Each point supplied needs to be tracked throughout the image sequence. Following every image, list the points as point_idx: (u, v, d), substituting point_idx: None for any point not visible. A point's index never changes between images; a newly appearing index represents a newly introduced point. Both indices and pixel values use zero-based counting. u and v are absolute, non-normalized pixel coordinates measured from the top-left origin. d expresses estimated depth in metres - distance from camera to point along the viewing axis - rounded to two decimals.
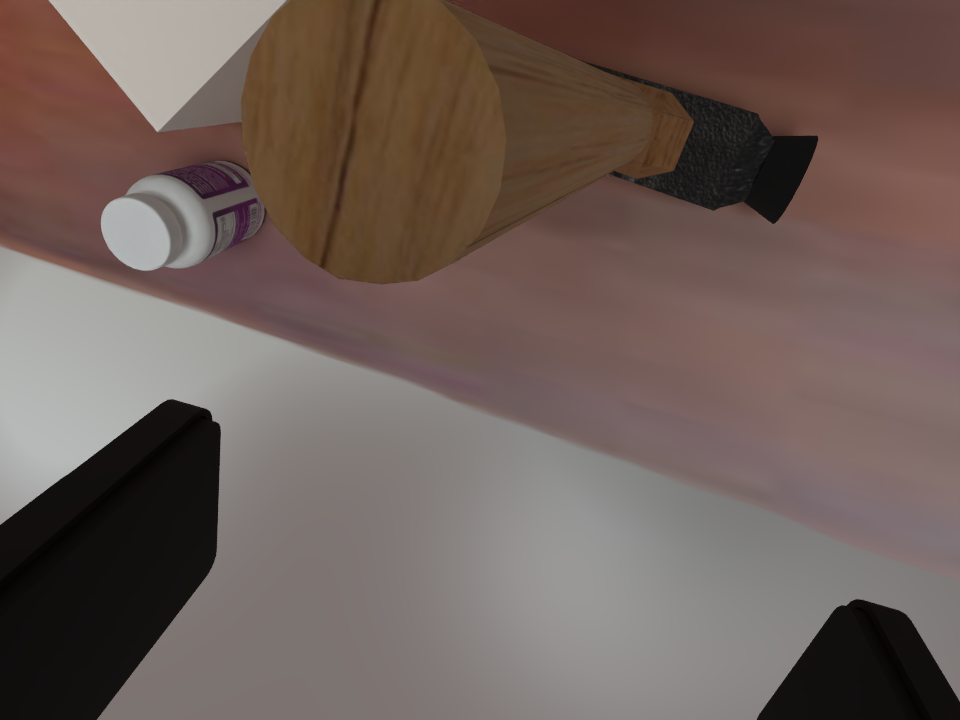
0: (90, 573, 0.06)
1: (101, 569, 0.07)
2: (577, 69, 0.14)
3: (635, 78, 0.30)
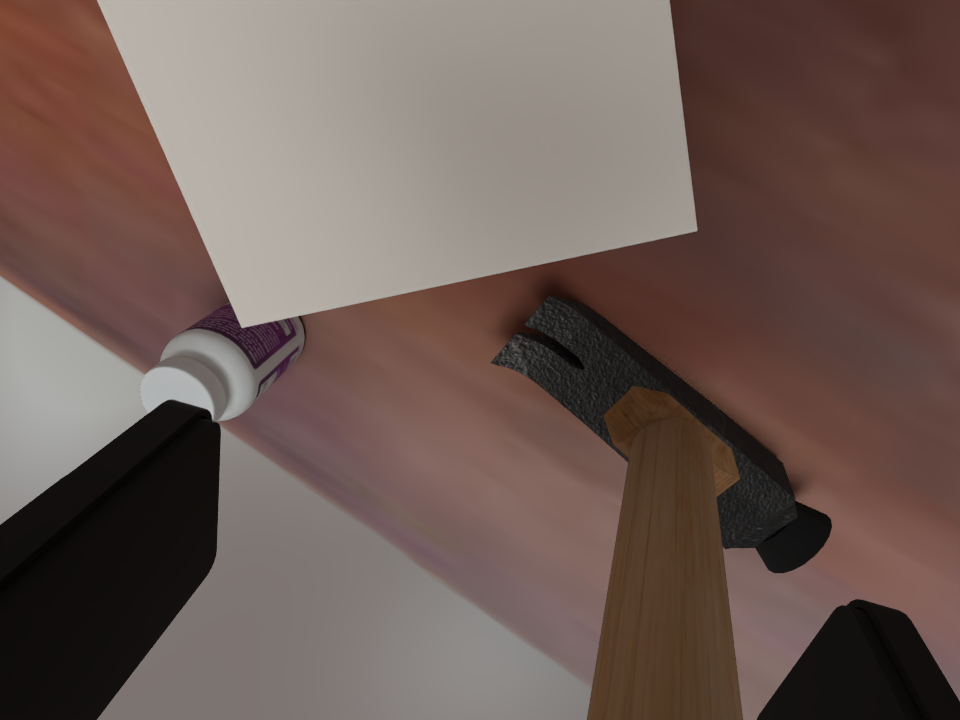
0: (90, 573, 0.06)
1: (101, 569, 0.07)
2: None
3: (705, 423, 0.32)
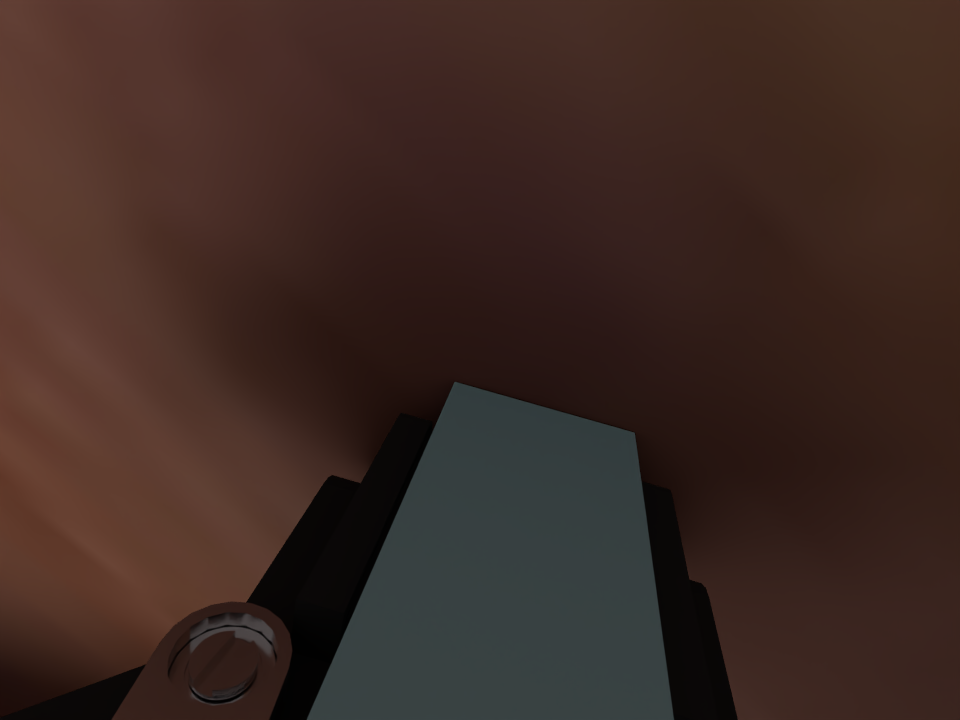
0: None
1: None
2: None
3: None
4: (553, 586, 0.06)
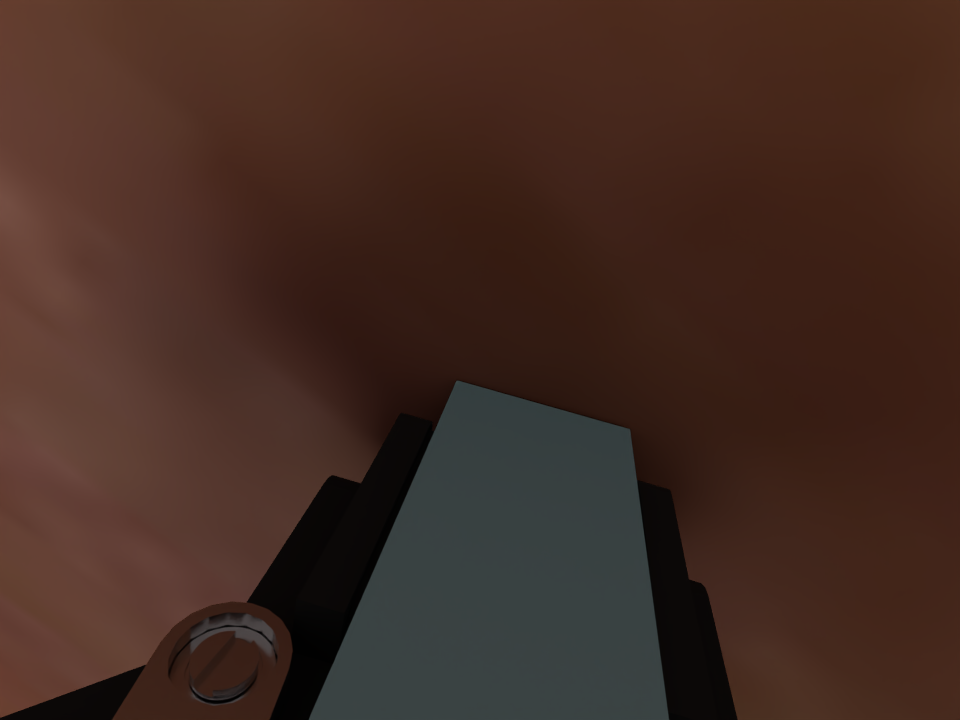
0: None
1: None
2: None
3: None
4: (552, 570, 0.07)
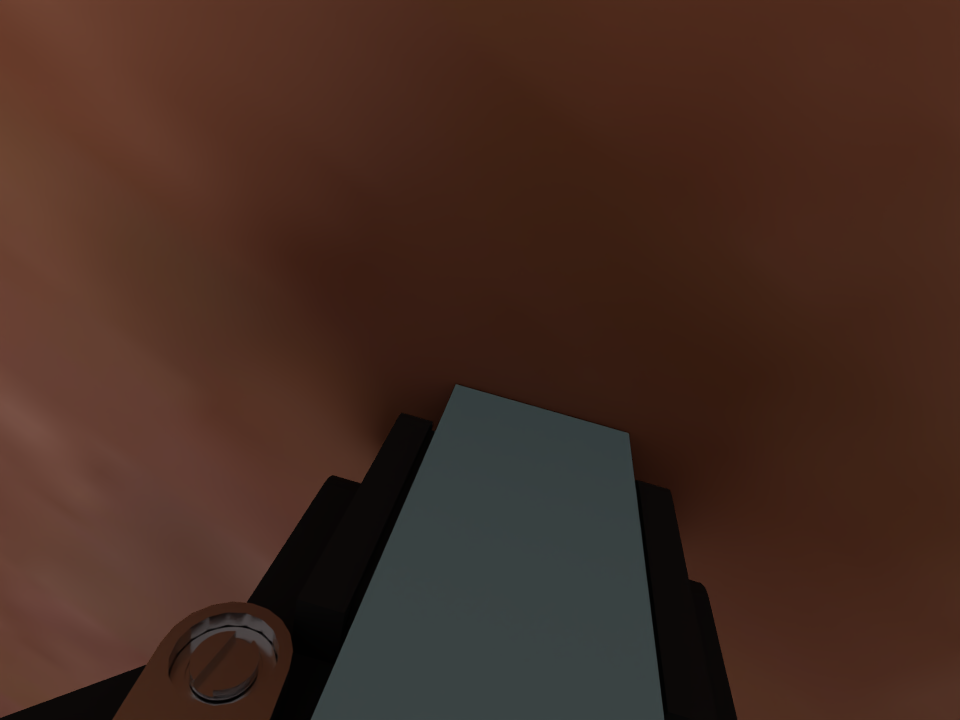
0: None
1: None
2: None
3: None
4: (550, 576, 0.07)
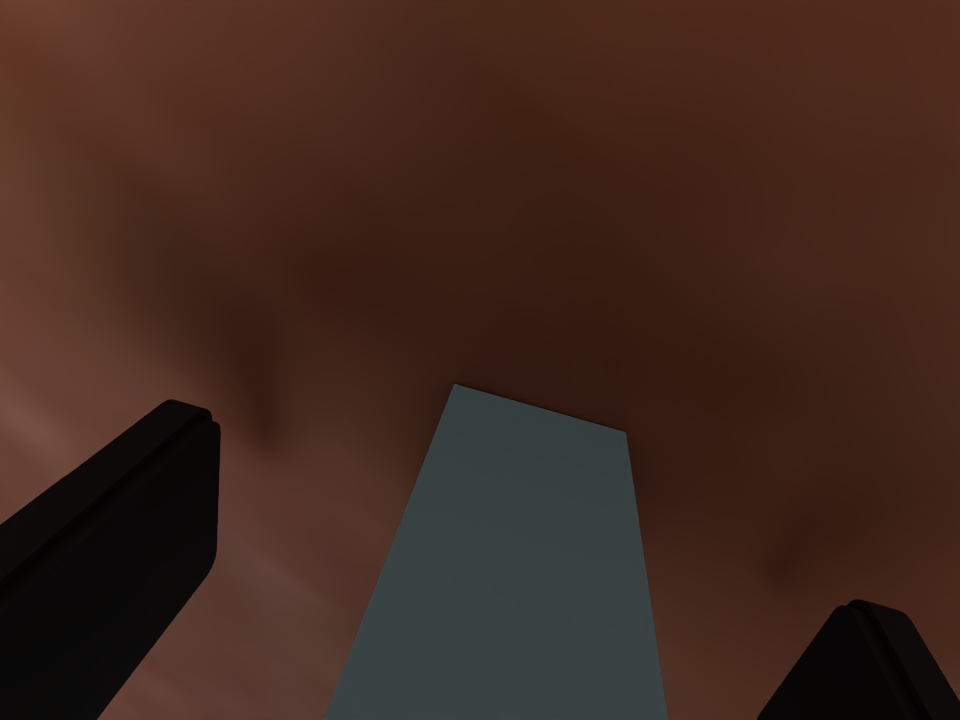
0: (90, 573, 0.06)
1: (101, 569, 0.07)
2: None
3: None
4: (553, 578, 0.07)
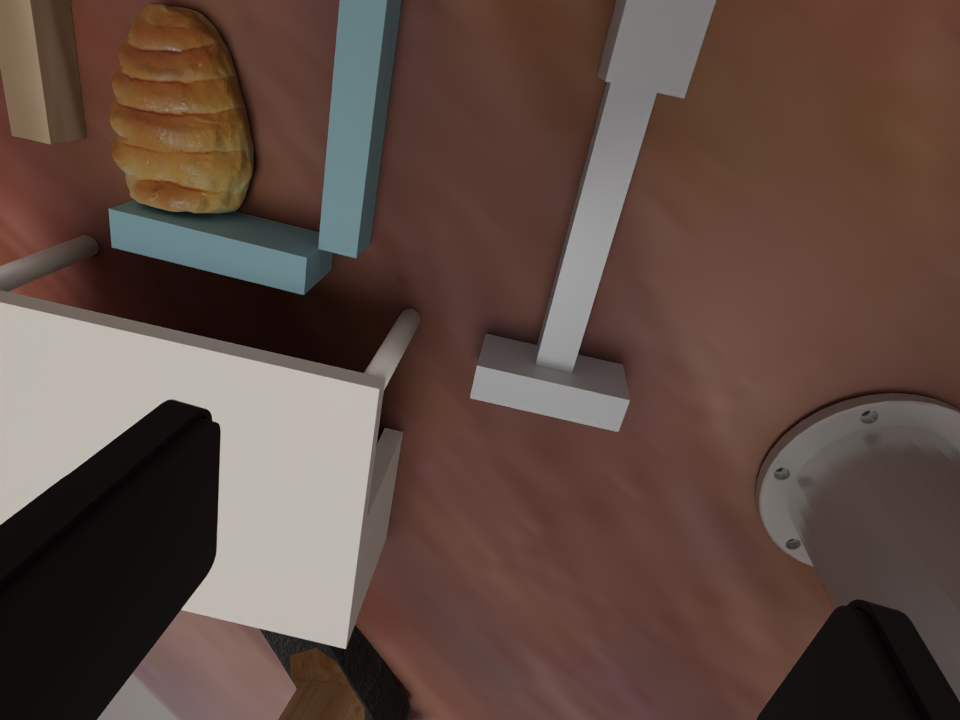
0: (90, 573, 0.06)
1: (101, 569, 0.07)
2: None
3: (354, 688, 0.44)
4: None
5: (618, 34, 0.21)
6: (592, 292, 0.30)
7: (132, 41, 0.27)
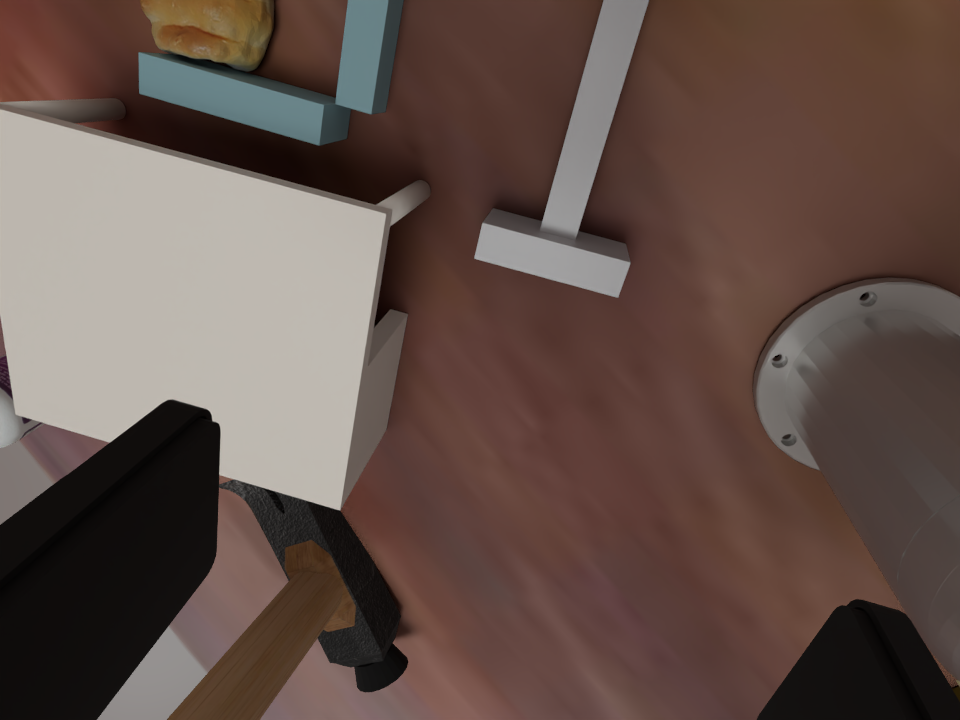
0: (90, 573, 0.06)
1: (101, 569, 0.07)
2: None
3: (346, 583, 0.45)
4: None
5: None
6: (598, 152, 0.30)
7: None
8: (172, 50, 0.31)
